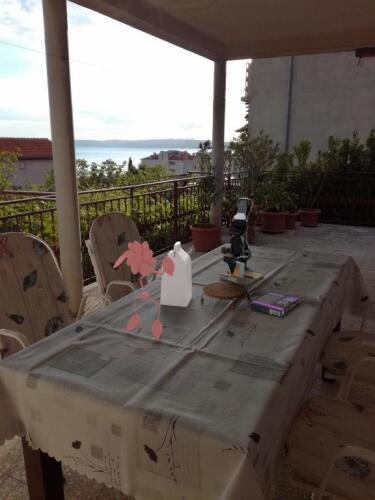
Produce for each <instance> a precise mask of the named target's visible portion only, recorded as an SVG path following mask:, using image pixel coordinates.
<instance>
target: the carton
mask: <svg viewBox="0 0 375 500" xmlns="http://www.w3.org/2000/svg"><path fill="white" fill-rule="evenodd" d="M236 262H237V265H236V268H235V271H234V274H231V272H230V275H232V276H236V277H240V278H244V263H242V262H238V261H236Z"/></svg>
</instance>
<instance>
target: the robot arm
mask: <svg viewBox="0 0 375 500" xmlns="http://www.w3.org/2000/svg"><path fill="white" fill-rule="evenodd" d="M253 205H254V200H253V199H251V198H248V197H239V198H238V199H237V200H236V207H237V213H236V214H235V215H234V216H233V218H232V220H231V224H230V233H232V236H231V238H230V246H229V247H227V246H223V247H221V250H220V252H221V253H222V254H223V257H222V262H224V263H226V264H227V266H228V269H229V271H230V272H231V274H234V271H235V268H236V265H237V262H236V261H238V262H242V263H244V270H245V271H246V270H247V269H250V267H249V266H248V262H249V260H250V259H251V258H252V255H253V253H252V251H251V248H250V244H249V242H248V239H247V238H248V229H249V223H248V222H249V214H251V212H252V208H253Z"/></svg>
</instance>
